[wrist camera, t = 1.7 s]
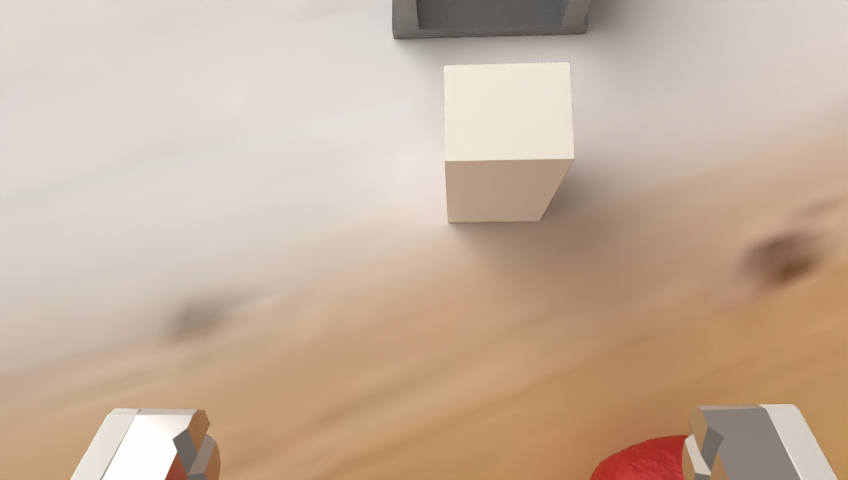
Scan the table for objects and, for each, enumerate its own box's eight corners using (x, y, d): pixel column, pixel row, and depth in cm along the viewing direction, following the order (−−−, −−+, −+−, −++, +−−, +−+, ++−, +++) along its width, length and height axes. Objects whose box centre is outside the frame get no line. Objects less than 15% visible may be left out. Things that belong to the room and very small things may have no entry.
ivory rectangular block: (447, 222, 37) (444, 161, 26) (446, 153, 38) (443, 65, 27) (539, 221, 37) (574, 158, 26) (536, 151, 37) (569, 62, 27)
